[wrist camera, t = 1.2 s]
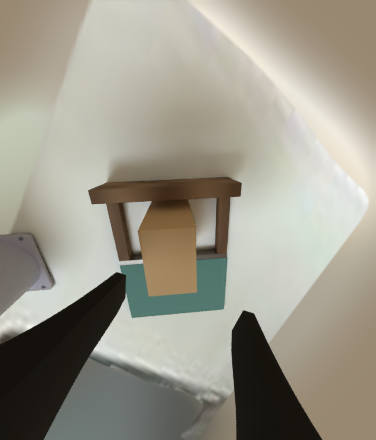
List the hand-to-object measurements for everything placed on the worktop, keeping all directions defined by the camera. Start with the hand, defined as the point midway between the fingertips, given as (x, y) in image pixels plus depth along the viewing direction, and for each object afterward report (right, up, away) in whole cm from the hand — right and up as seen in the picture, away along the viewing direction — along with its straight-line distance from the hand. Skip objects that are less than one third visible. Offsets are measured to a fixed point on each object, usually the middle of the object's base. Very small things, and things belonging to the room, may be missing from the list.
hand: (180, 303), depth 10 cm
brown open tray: (-1, +5, +10) cm, 11 cm away
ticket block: (-1, +5, +10) cm, 11 cm away
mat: (-1, -5, +14) cm, 15 cm away
